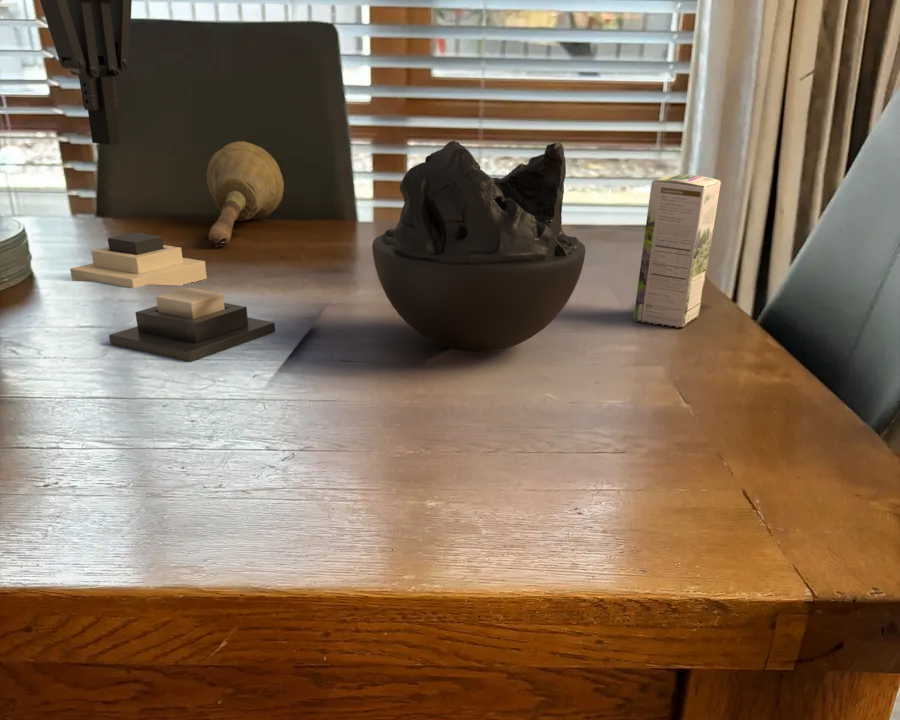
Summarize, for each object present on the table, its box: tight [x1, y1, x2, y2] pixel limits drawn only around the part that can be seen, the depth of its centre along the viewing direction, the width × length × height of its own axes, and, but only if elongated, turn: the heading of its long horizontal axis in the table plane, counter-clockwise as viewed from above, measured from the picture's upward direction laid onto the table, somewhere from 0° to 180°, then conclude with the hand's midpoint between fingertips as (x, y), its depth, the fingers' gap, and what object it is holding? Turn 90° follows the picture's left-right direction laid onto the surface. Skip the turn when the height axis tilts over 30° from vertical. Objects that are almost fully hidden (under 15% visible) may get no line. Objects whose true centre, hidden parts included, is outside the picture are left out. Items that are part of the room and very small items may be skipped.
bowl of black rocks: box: [371, 140, 586, 353], centre depth 92 cm, size 20×20×19 cm
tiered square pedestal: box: [108, 302, 276, 363], centre depth 93 cm, size 12×10×4 cm
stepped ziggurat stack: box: [69, 244, 208, 289], centre depth 117 cm, size 12×10×4 cm
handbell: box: [206, 140, 285, 247], centre depth 143 cm, size 12×12×25 cm
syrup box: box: [633, 173, 722, 328], centre depth 104 cm, size 6×6×14 cm
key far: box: [107, 232, 164, 255], centre depth 115 cm, size 4×4×2 cm
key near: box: [155, 287, 225, 319], centre depth 92 cm, size 4×4×2 cm
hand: (106, 143), depth 108 cm, fingers closed
